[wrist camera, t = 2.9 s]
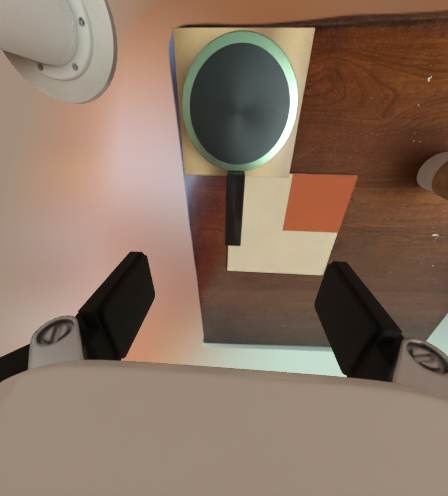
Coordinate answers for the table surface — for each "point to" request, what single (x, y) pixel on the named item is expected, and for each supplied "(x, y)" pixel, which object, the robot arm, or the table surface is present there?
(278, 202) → the mat
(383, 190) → the table surface
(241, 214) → the pan
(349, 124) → the table surface
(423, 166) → the coffee cup
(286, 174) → the block
